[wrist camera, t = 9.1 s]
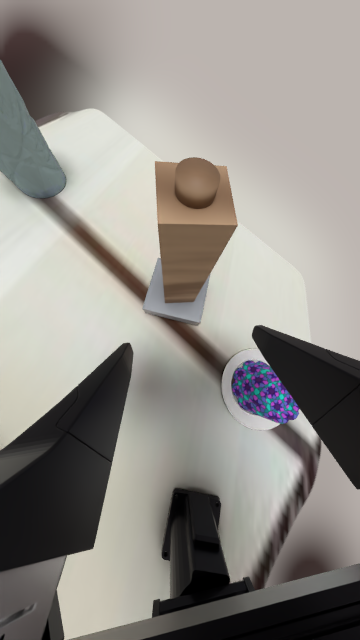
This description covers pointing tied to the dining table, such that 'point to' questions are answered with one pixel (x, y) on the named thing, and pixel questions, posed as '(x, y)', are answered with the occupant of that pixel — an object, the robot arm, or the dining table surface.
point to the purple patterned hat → (256, 393)
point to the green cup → (25, 146)
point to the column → (192, 223)
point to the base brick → (174, 311)
